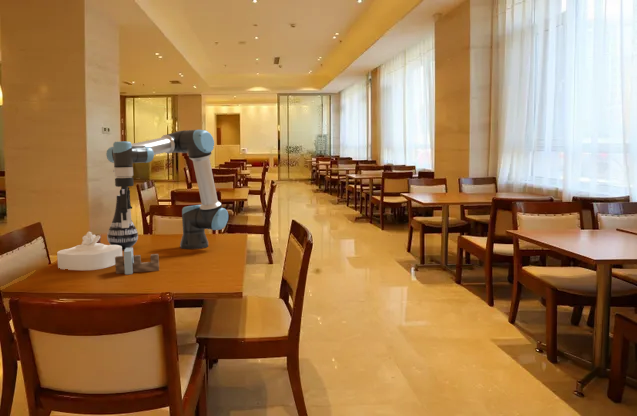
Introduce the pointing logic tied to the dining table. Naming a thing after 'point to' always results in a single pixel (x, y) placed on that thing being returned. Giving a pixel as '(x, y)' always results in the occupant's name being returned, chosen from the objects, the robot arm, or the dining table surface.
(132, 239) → the vase
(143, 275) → the dining table surface
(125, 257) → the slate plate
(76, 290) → the dining table surface
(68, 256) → the tissue box
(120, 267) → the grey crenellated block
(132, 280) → the dining table surface
